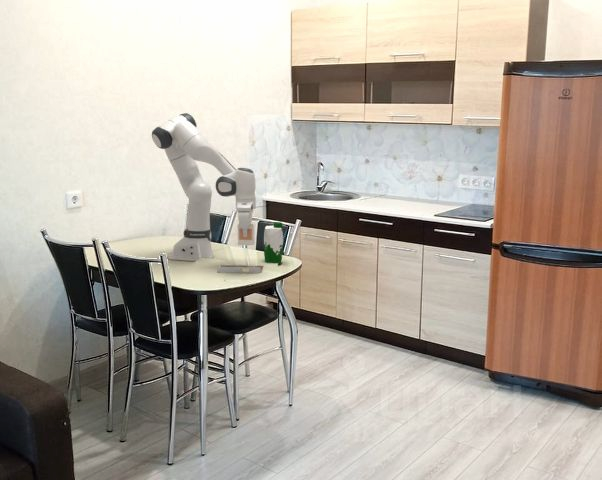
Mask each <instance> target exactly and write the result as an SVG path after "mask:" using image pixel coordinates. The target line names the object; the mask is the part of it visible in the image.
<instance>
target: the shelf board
mask: <svg viewBox="0 0 602 480" xmlns="http://www.w3.org/2000/svg"><path fill="white" fill-rule="evenodd" d="M219 267H260V273H259V274H262V272H263V270H264V265H231V264H230V265H225V264H222V265H220V266H219ZM216 273H217V274H219V273H218V270H217V272H216Z"/></svg>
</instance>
